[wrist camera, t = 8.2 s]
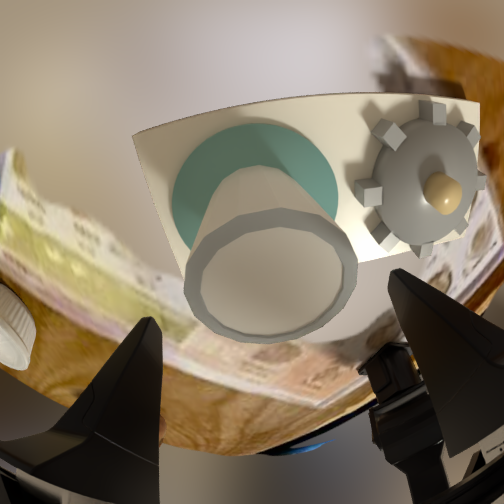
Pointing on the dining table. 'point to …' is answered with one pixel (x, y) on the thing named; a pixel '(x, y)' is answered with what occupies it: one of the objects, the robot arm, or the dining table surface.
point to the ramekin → (15, 330)
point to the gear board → (328, 164)
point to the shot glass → (267, 260)
